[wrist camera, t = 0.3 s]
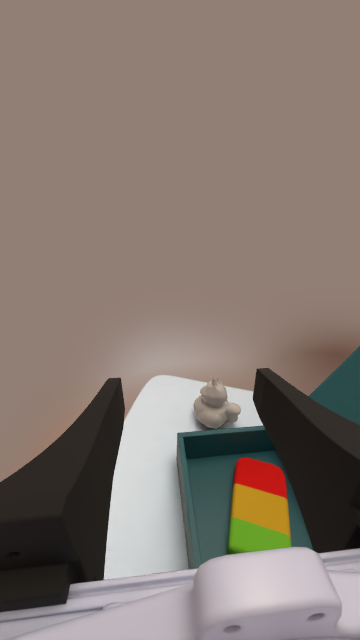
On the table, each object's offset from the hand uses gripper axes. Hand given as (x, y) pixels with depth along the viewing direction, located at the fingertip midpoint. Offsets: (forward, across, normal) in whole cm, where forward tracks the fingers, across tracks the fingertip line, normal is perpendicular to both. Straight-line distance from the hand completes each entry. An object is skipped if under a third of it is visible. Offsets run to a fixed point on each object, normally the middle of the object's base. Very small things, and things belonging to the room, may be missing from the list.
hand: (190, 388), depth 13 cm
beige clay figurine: (+16, -6, +20) cm, 27 cm away
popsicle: (+2, -7, +21) cm, 22 cm away
